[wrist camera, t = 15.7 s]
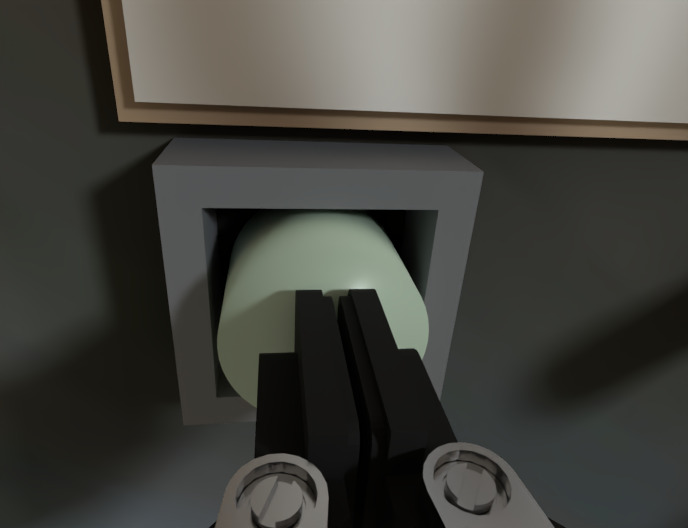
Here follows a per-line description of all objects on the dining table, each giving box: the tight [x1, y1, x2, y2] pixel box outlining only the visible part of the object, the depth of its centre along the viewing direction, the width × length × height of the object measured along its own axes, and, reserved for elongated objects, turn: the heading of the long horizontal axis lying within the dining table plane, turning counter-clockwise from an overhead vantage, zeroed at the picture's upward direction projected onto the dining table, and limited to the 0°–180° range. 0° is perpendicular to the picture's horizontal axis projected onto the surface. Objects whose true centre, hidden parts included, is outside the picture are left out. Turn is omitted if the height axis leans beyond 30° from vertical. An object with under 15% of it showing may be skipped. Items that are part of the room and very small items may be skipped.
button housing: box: [152, 138, 484, 425], centre depth 13 cm, size 7×7×2 cm
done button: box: [217, 208, 429, 408], centre depth 12 cm, size 5×5×4 cm
